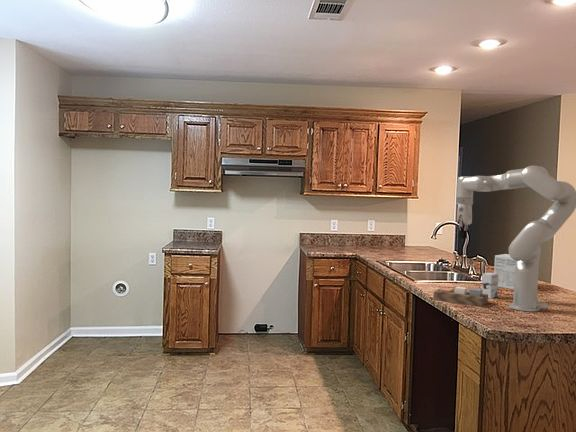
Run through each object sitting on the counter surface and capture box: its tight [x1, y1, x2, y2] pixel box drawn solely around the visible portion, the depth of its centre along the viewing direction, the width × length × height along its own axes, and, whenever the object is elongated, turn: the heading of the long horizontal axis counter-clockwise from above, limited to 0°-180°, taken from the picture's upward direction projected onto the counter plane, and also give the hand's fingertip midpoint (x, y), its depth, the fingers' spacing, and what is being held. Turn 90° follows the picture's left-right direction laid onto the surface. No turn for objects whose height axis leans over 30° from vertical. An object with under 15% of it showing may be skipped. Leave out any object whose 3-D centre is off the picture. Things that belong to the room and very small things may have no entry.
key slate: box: [469, 287, 483, 297], centre depth 226 cm, size 5×5×4 cm
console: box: [432, 287, 489, 308], centre depth 231 cm, size 22×12×4 cm, turn 54°
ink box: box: [481, 272, 499, 299], centre depth 243 cm, size 8×5×12 cm, turn 134°
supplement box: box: [493, 253, 516, 290], centre depth 271 cm, size 13×13×18 cm
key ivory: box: [454, 286, 468, 295], centre depth 231 cm, size 5×5×4 cm
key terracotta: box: [439, 287, 453, 292], centre depth 235 cm, size 5×5×4 cm
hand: (463, 238), depth 239 cm, fingers closed
